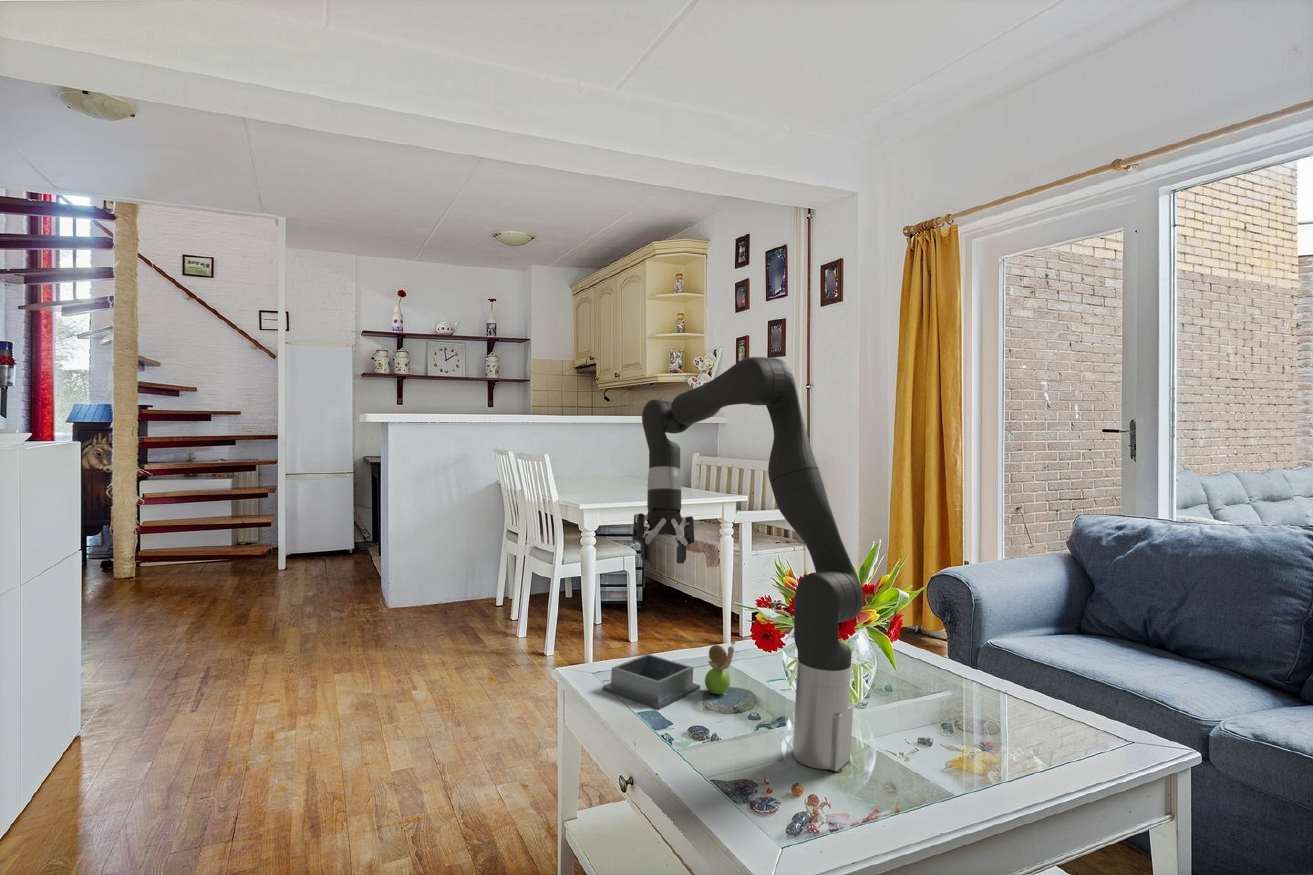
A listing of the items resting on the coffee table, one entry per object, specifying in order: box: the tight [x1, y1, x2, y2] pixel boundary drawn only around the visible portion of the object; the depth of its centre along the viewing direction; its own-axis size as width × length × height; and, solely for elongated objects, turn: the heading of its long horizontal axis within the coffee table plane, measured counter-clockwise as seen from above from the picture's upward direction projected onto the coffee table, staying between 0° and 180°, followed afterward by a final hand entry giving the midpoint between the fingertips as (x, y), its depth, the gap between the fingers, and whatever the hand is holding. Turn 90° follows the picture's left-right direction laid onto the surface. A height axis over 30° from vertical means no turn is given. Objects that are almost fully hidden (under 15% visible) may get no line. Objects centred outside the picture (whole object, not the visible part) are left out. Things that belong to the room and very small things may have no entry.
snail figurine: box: [704, 641, 736, 695], centre depth 158 cm, size 5×6×12 cm
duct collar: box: [602, 653, 701, 710], centre depth 159 cm, size 15×15×5 cm
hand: (663, 562), depth 161 cm, fingers open, 8 cm apart
